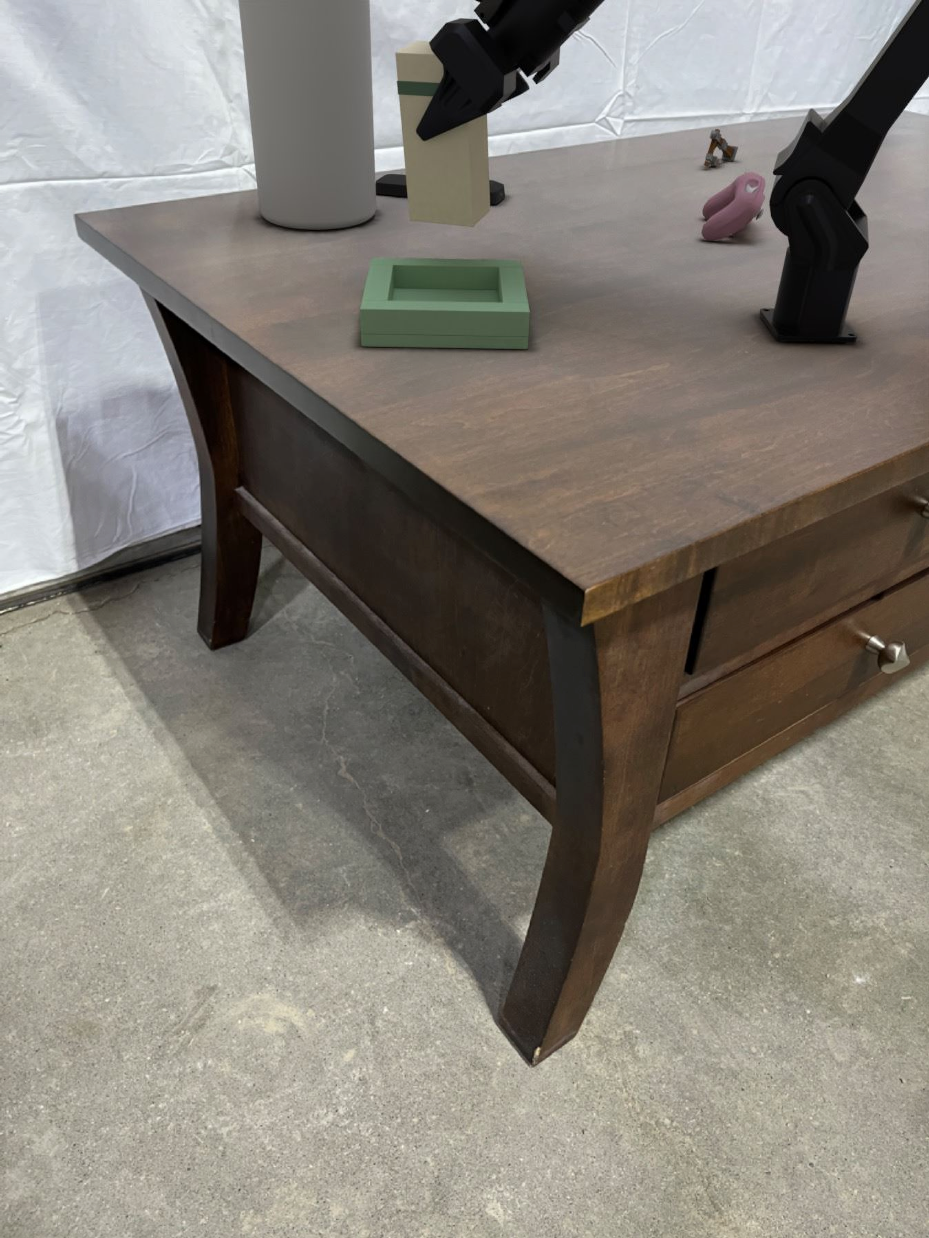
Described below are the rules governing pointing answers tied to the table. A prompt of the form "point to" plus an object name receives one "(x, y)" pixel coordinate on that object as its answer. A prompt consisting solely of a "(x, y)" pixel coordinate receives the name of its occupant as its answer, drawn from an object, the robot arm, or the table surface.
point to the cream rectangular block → (440, 149)
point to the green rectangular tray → (445, 304)
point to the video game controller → (734, 207)
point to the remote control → (398, 187)
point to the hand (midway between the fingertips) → (429, 130)
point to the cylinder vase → (311, 110)
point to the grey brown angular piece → (721, 143)
